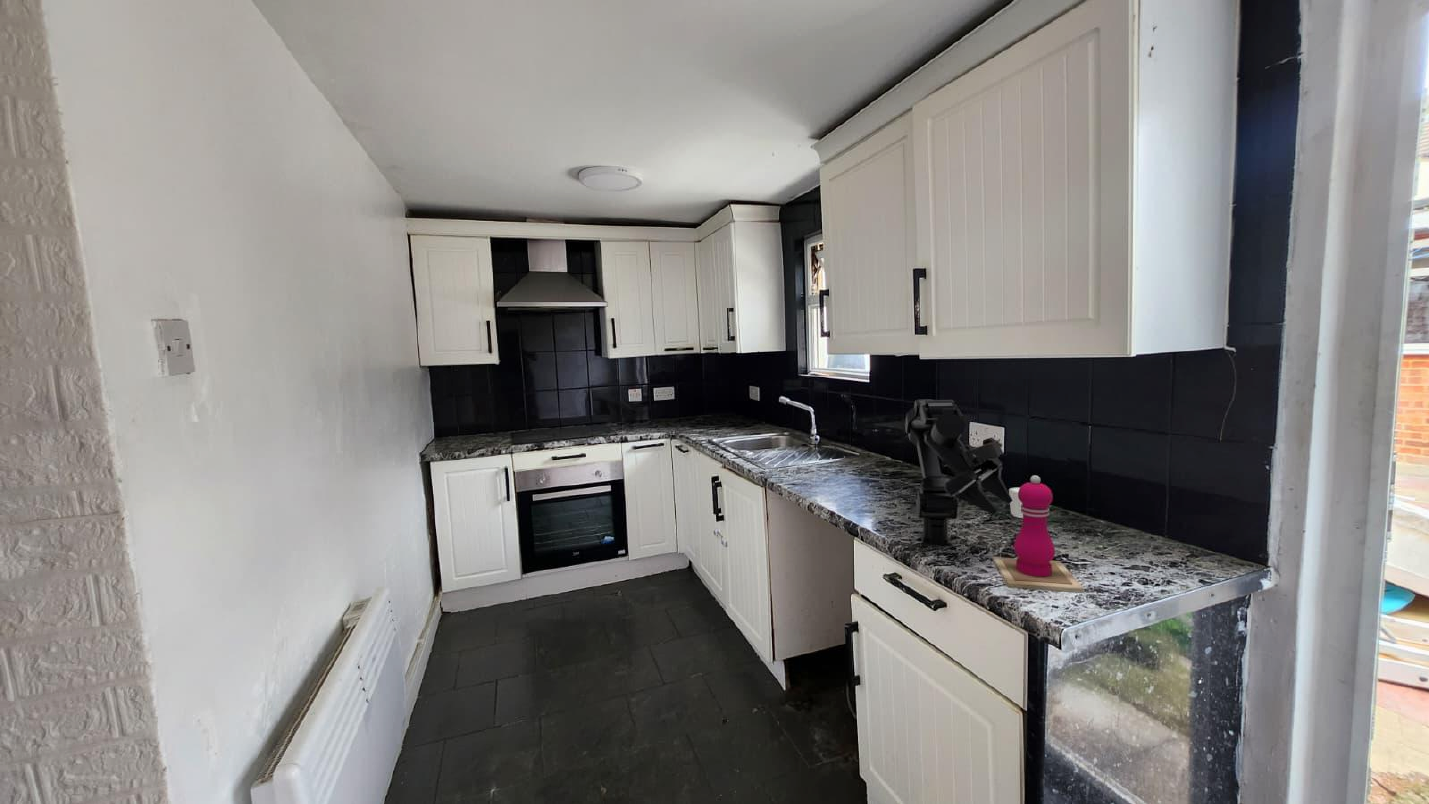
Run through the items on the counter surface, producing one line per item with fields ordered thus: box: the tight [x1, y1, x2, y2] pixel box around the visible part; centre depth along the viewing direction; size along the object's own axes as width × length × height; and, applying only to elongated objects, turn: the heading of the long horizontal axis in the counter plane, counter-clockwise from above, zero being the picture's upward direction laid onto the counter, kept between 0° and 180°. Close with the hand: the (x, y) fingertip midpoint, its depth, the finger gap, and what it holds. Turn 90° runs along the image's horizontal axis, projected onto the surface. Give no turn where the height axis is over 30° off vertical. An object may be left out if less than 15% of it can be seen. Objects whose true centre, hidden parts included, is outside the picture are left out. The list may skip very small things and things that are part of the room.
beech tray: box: [992, 556, 1085, 594], centre depth 109 cm, size 13×13×1 cm
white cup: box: [1008, 486, 1023, 519], centre depth 144 cm, size 7×7×7 cm
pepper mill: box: [1013, 474, 1056, 577], centre depth 108 cm, size 7×7×20 cm
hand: (1003, 507), depth 112 cm, fingers open, 9 cm apart
